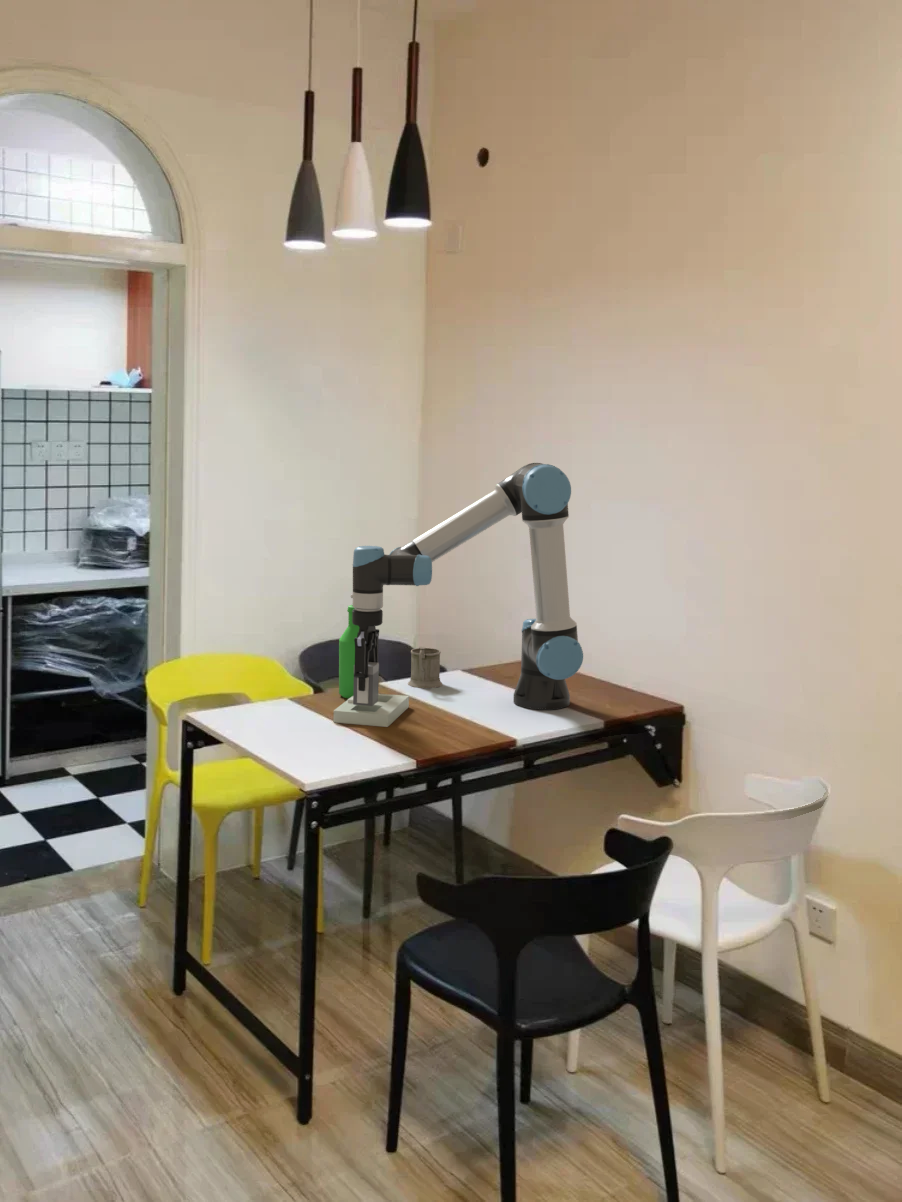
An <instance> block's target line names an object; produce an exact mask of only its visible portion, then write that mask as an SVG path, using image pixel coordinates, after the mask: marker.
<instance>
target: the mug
mask: <svg viewBox="0 0 902 1202" xmlns="http://www.w3.org/2000/svg"><path fill="white" fill-rule="evenodd" d="M441 653H442V651H441V650H440V649H437V648H431V647H425V646H419V647H418V648H412V649H411V650H410V654H411V655H410V656H411V659H410V660H411V661H410V662H411V664H410V665H411V666H410V667H411V668H410V672H411V673H410V680H409V681H408V682H407V685H408V686H410V687H411V688H416V689H417V688H419V689H435V688H440V687H441V686H443V682H442V681H441V677H440V675H441V674H440V673H441V672H440V670H441V658H440V657H441Z"/></svg>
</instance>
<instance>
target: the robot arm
mask: <svg viewBox="0 0 902 1202" xmlns="http://www.w3.org/2000/svg"><path fill="white" fill-rule="evenodd" d="M494 487H495V488H494V490H493V491H491V492H489V493H487V494H486V495H484V496H483V497H481V498H480V499H478V500H475V502H473V503H471V504H470V505H468V506H466V507H465V508H463V509H462V510H460V511H458V512H457V513H455V514H453V515H452V516H450V517H449V518H446V520H444V521H442V522H440V523H439V524H437V525H435V526H434V527H433V528H431V529H429V530H427V531H426V532H424V533H423V534H421V535H419V536H417V537H416V538H414V539H413V540H411V541H410V542H408V543H406V544H404V545H403V546H398V547H396V548H394V549H392V550H390V553H389V554H385V550H384V548H383V547H382V546H378V545H361V546H357V547H355V549H354V550H353V557H352V558H353V559H352V593H351V594H350V598H351V599H352V605H353V607H354V608H355V609H353V610H352V623H353V624H354V625H358V626H359V632H358V634H357V638H356V637H355V639H354V642H355V673H354V677H357V703H366V704H368V689H369V677H367V676H368V675H367V674H368V663H369V662H377V663H379V638H380V637H379V636H380V629H379V628H377V627H378V626H381V625H382V624H383V616H384V614H383V613H384V611H383V610H382V608H383V606H384V586H415V587H419V586H428V585H430V584H431V582H432V579H433V563H434V562H435V561H436V560H439V559H440V558H441V557H443V556H445V555H447V554H448V553H450V552H452V551H453V550H454V549H457V548H458V547H460V546H461V545H463V544H464V543H466V542H467V541H469V540H471V539H473V538H474V537H476V536H477V535H479V534H480V533H481V534H482V533H483V532H484V531H486V530H487V529H490V527H492V526H494V525H495V524H497V523H499V522H501V521H502V520H504V519H505V518H507V517H509V516H512V517H516V516H518V515H519V514H520V515H521V521H522V522H523V523H524V524H526V525H527V527H528V531H529V532H528V533H529V541H530V543H529V544H530V545H529V547H530V555H531V565H532V566H531V569H532V582H533V593H534V604H535V606H534V608H535V618H526V619H524V621H522V629H521V659H520V660H521V661H520V665H521V666H520V675H519V679H518V681H517V684H516V686H515V688H514V692H513V703H514V704H515V705H516V706H518V707H519V706H520V707H522V708H526V709H533V710H559V709H564V708H566V707H567V708H568V707H569V705H570V703H571V695H570V691H569V689H568V685H567V681H566V680H567V679H569V678H571V677H572V676H574V675H575V674H576V673H577V672H578V671H579V670H580V669H581V667H582V665H583V661H584V652H583V649H582V645H581V643H580V642H579V637H578V625H577V622H576V621H575V620H574V619H573V618H572V617H571V613H570V612H571V611H570V600H569V599H570V598H569V586H568V573H567V559H566V544H565V532H564V531H565V529H564V524H565V522H566V521H567V519H568V518H569V517H570V515H569V514H570V513H569V502H570V499H571V495H572V486H571V482H570V479H569V478H568V476H567V475H566V474H565V473H564V472H563V471H562V469H560V468H558V467H557V466H555V465H552V464H549V463H541V462H532V463H527V464H525V465H523V466H521V467H520V468H518V469H517V470H516V471H514V472H513V473H512V474H510V475H508V476H507V477H506V478H504V479H502V481H500V482H497V484H496V485H495V486H494Z"/></svg>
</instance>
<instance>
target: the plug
mask: <svg viewBox="0 0 902 1202" xmlns="http://www.w3.org/2000/svg"><path fill="white" fill-rule="evenodd" d="M379 671H380V662H378V663H377V662H369V663H368V674H367V675H368V676H367V677H369V689H368V704H366V703H357V677H354V684H353V705H365V706H373V705H374V704H376V703H377V702H378V694H379V683H380V682H379V681H380V680H379V679H380V678H379V677H380V676H379V675H380V673H379ZM354 673H355V665H354Z"/></svg>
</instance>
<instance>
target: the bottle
mask: <svg viewBox="0 0 902 1202" xmlns="http://www.w3.org/2000/svg"><path fill="white" fill-rule="evenodd" d="M353 609H355V608H354V607H353V604H351V605H347V613H348V617H347V618H348V620H347V621H348V624H347V627H346V629H345V630H344V631H343V633H342V634H341V636H340V638H339V639H338V641H339V642H338V657H339V658H338V665H339V666H338V693H339V695H340V696H341V697H343V698H344V699H347V700H348V699H349V698H350V697H352V696H353V684H354V665H355V642H354V639H355V637H356V638H357V634H358V632H359V626H358V625H354V624H353V623H352V610H353Z"/></svg>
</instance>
